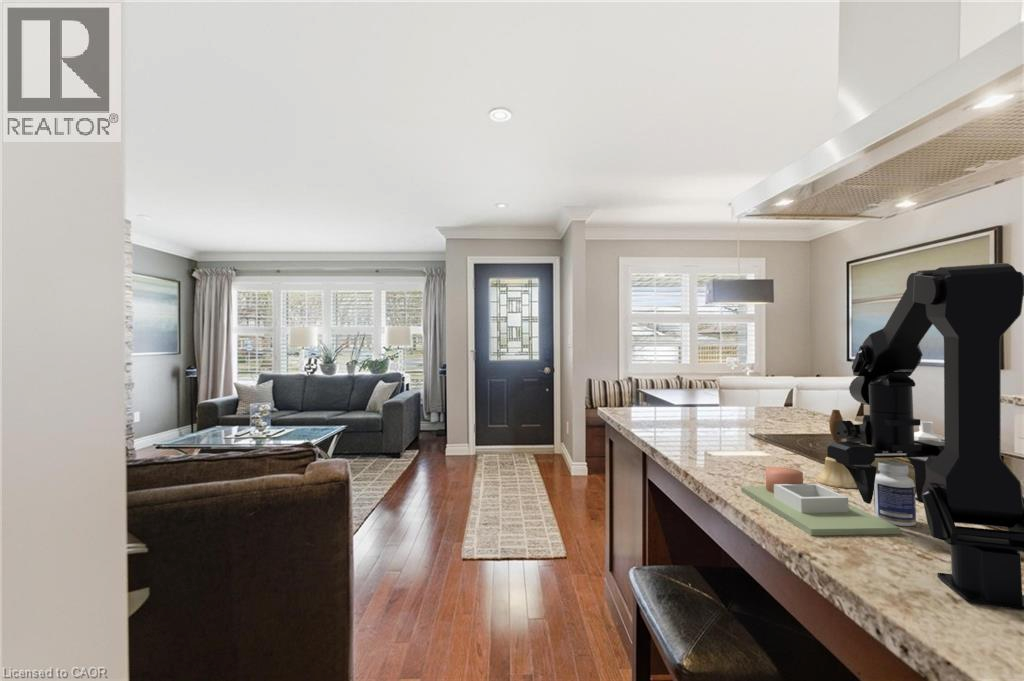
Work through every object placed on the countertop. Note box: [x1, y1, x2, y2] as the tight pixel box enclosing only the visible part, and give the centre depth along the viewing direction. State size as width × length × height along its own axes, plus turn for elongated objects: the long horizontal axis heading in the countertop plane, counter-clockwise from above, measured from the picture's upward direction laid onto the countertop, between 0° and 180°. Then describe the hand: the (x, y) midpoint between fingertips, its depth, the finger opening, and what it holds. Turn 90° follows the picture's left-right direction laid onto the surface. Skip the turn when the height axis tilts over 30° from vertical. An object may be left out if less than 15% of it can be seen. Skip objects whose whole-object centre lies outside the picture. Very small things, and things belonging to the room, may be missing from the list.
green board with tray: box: [740, 466, 901, 536], centre depth 81 cm, size 22×14×5 cm, turn 179°
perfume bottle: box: [914, 420, 943, 499], centre depth 85 cm, size 5×4×15 cm
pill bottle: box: [873, 460, 917, 527], centre depth 75 cm, size 5×5×10 cm
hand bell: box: [815, 409, 858, 489], centre depth 97 cm, size 8×8×16 cm
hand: (894, 502), depth 75 cm, fingers open, 9 cm apart
